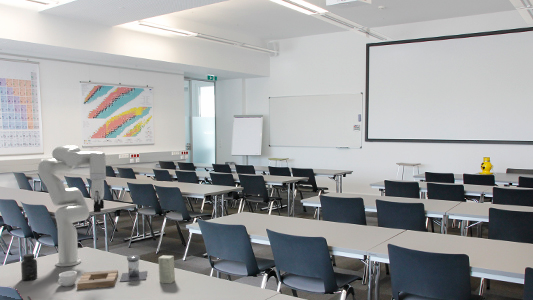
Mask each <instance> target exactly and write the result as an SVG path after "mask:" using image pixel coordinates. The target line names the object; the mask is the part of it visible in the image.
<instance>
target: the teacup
mask: <svg viewBox="0 0 533 300" xmlns="http://www.w3.org/2000/svg"><path fill="white" fill-rule="evenodd" d="M77 277H78V271H75V270H67V271H63V272H61V273H58V280H57V284H58V285H61V286H63V287H71V286H73V285H74V284H75V283H76V282H77V280H78V279H77Z"/></svg>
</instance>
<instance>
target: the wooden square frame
mask: <svg viewBox="0 0 533 300" xmlns="http://www.w3.org/2000/svg"><path fill="white" fill-rule="evenodd" d="M118 276H119V270H118V269H112V270H101V271H100V270H99V271H86V272H83V273H82V275H81V277H80V278H79V280H78V282H77V284H76V288H77V290H84V289H85V288H87V289H95V288H96V287H99V288H108V287H109V286H110V287H114V286H115V285H116V282H117V279H118ZM105 278H106V279H105ZM93 279H94V280H93Z"/></svg>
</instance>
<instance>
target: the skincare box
mask: <svg viewBox="0 0 533 300" xmlns="http://www.w3.org/2000/svg"><path fill="white" fill-rule="evenodd" d="M158 273H159V274H158V277H159V283H162V284H172V283H174V281H176V278H175V273H176V272H175V257H174V255H167V254H165V255H164V254H163V255H161V256H159V257H158Z"/></svg>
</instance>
